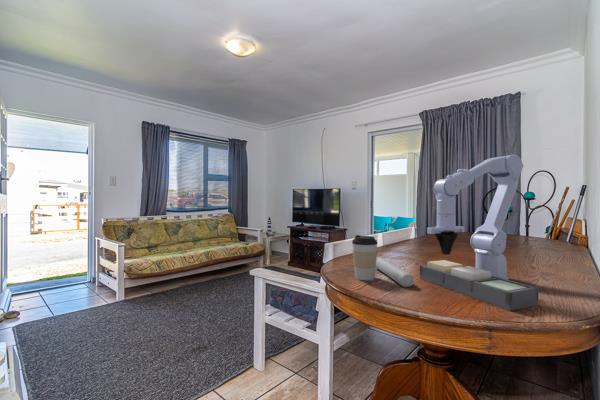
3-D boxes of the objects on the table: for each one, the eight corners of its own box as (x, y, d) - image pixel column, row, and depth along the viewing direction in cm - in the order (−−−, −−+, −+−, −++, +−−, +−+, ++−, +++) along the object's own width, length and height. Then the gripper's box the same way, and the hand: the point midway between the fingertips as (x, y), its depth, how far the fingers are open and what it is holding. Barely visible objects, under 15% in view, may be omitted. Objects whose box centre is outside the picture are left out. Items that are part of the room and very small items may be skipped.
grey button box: (444, 275, 105) (444, 263, 105) (538, 305, 76) (538, 287, 76) (419, 278, 102) (419, 265, 102) (509, 310, 73) (509, 292, 72)
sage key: (499, 287, 84) (499, 279, 84) (527, 296, 77) (527, 287, 77) (480, 290, 82) (480, 282, 82) (507, 299, 75) (507, 290, 75)
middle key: (468, 273, 94) (468, 266, 94) (491, 279, 87) (491, 271, 87) (451, 275, 91) (451, 268, 91) (472, 282, 84) (472, 274, 84)
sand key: (444, 266, 103) (444, 260, 103) (462, 271, 96) (462, 264, 96) (427, 268, 101) (427, 261, 101) (444, 273, 94) (444, 266, 94)
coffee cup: (382, 277, 104) (382, 235, 104) (369, 282, 97) (369, 238, 97) (360, 273, 110) (360, 233, 110) (347, 278, 103) (346, 236, 103)
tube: (419, 276, 91) (388, 258, 116) (403, 271, 91) (376, 255, 116) (414, 292, 91) (384, 271, 116) (398, 287, 91) (372, 267, 116)
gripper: (452, 213, 104) (452, 250, 104) (420, 214, 99) (420, 253, 99) (469, 214, 97) (469, 254, 97) (436, 215, 92) (436, 257, 92)
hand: (446, 254), depth 98 cm, fingers closed
